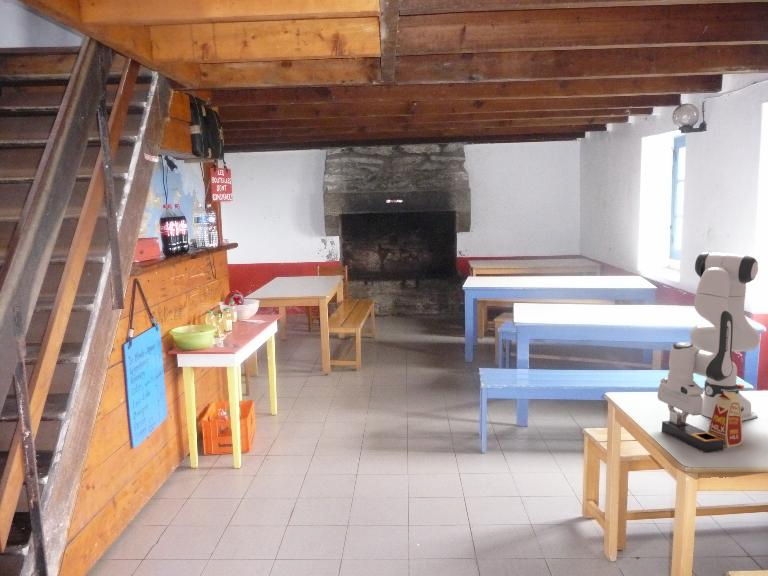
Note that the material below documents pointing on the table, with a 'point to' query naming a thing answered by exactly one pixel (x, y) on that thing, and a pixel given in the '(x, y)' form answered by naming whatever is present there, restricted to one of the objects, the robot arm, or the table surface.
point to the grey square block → (676, 418)
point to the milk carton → (727, 420)
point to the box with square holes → (694, 437)
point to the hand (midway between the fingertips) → (677, 418)
